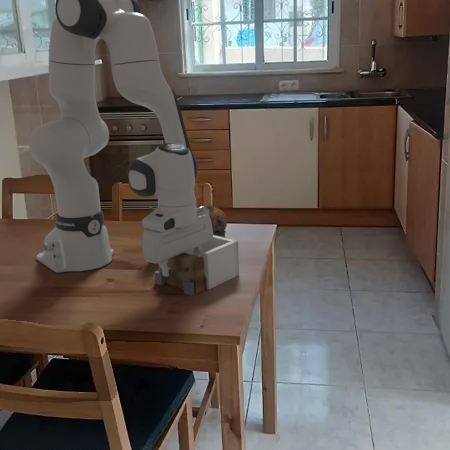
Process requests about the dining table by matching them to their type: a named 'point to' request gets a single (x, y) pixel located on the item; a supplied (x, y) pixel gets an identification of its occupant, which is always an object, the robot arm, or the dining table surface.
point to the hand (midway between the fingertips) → (181, 269)
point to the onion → (216, 215)
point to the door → (186, 271)
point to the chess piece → (219, 228)
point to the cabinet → (213, 264)
